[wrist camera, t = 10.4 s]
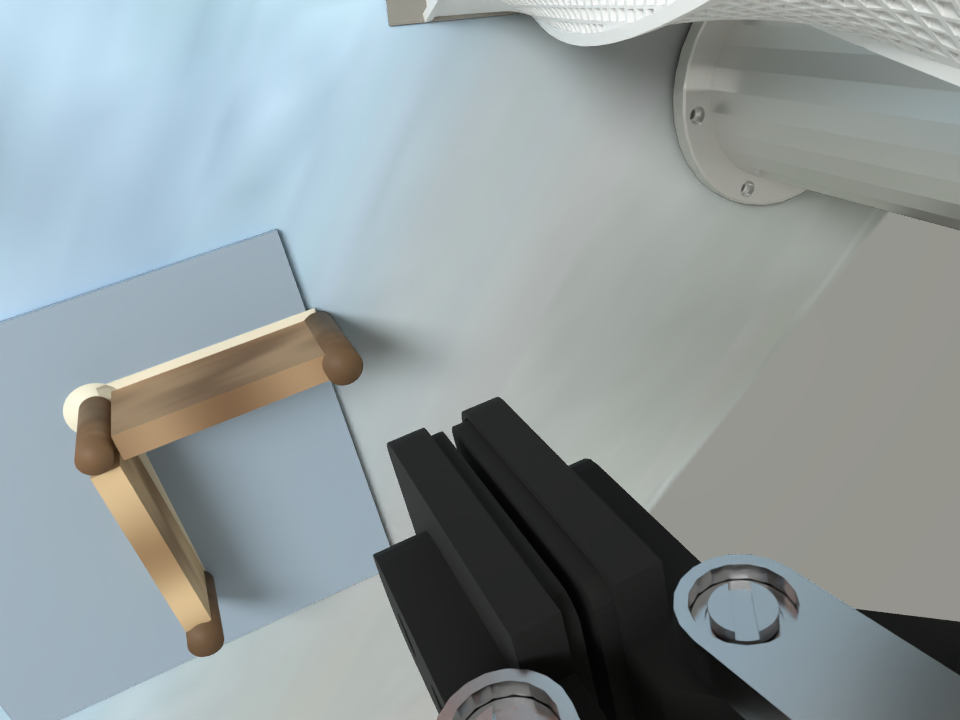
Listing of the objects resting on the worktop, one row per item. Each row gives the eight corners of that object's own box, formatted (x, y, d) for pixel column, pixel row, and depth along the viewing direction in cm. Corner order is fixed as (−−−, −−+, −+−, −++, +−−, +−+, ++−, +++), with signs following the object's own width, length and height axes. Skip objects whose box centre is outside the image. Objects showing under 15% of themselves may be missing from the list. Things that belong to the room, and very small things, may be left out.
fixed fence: (329, 306, 38) (356, 344, 34) (339, 336, 39) (367, 376, 34) (71, 400, 35) (65, 455, 31) (88, 431, 36) (84, 488, 32)
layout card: (284, 226, 36) (286, 228, 36) (401, 558, 45) (403, 562, 45) (-227, 397, 31) (-231, 401, 31) (24, 731, 40) (23, 737, 40)
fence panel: (87, 436, 36) (84, 486, 32) (123, 421, 36) (125, 469, 32) (188, 602, 41) (196, 662, 37) (219, 587, 41) (229, 645, 37)
